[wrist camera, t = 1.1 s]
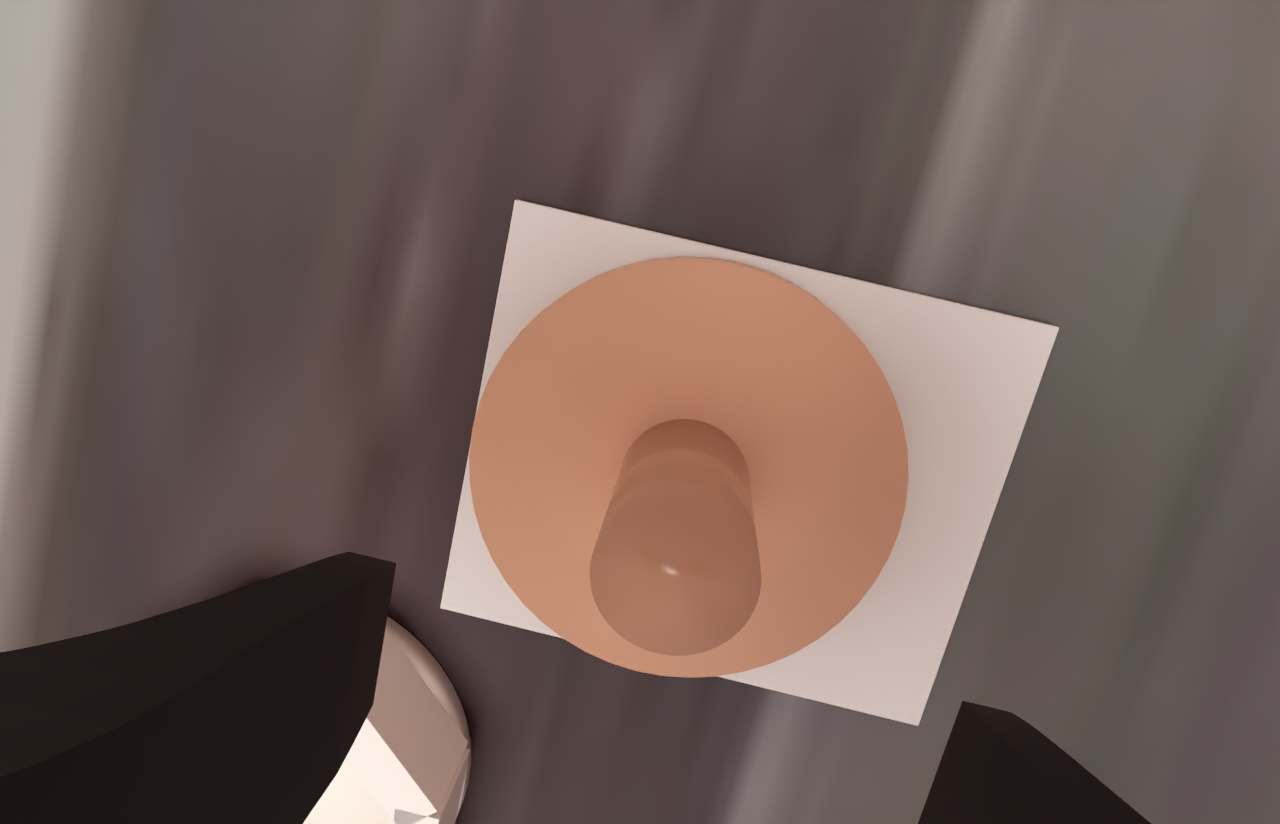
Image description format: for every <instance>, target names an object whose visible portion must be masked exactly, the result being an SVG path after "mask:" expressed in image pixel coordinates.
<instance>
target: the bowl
mask: <svg viewBox="0 0 1280 824" xmlns="http://www.w3.org/2000/svg"><path fill="white" fill-rule="evenodd" d="M470 770H471V741H470V735H469V729H468V723H467V720H466V717H465V714H464V711H463V707H462V704H461V702H460V700H459V698H458V696H457V693H456V691H455V689H454V687H453V685H452V683H451V682H450V680H449V678H448V677H447V675H446V674H445V672H444V670H443V669H442V667H441V666H440V665H439V663H438V662H437V661H436V660H435V658H434V657H433V656H432V655H431V654H430V652H429V651H428V650H427V649H426V648H425V647H424V646H423V645H422V644H421V643H420V642H419V641H418V640H417V639H416V638H415V637H414V636H413V635H412V634H411V633H410V632H408V631H407V630H406V629H404V628H403V627H402V626H400V625H399V624H398V623H397V622H395V621H394V620H393V619H391V618H390V617H388V616H387V622H386V629H385V635H384V641H383V647H382V653H381V659H380V666H379V672H378V678H377V684H376V690H375V696H374V702H373V706H372V708H371V710H370V712H369V714H368V716H367V718H366V720H365V722H364V724H363V726H362V728H361V729H360V731H359V733H358V735H357V737H356V739H355V741H354V743H353V745H352V747H351V749H350V751H349V753H348V754H347V756H346V758H345V760H344V762H343V764H342V766H341V767H340V769H339V771H338V773H337V775H336V776H335V777H334V779H333V780H332V782H331V783H330V785H329V786H328V788H327V789H326V791H325V792H324V794H323V795H322V797H321V798H320V799H319V801H318V802H317V804H316V805H315V807H314V808H313V810H312V811H311V812H310V814H309V815H308V817H307V818H306V820H305V821H304V823H303V824H455V821H456V818H457V815H458V813H459V811H460V808H461V806H462V803H463V801H464V798H465V794H466V791H467V787H468V784H469V778H470Z"/></svg>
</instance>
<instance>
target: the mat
mask: <svg viewBox="0 0 1280 824" xmlns="http://www.w3.org/2000/svg"><path fill="white" fill-rule="evenodd" d="M675 256H696V257H712V258H718V259H724V260H731V261H737V262H740V263H744V264H747V265H750V266H753V267H757V268H760V269H763V270H766V271H768V272H770V273H773V274H775V275H777V276H779V277H781V278H783V279H786V280H788V281H790V282H792V283H794V284H795V285H797V286H798V287H800V288H801V289H803V290H805V291H806V292H808V293H809V294H811V295H812V296H814V297H816V298H817V299H818V300H819V301H820V302H822V303H823V304H824V305H825V306H826V307H828V308H829V309H830V310H831V311H832V312H833V313H835V314H836V315H837V316H838V317H839V318H840V319H841V320H842V321H844V322H845V324H846V325H847V326H848V327H849V328H850V329H851V330H852V331H853V332H854V334H855V335H856V336H857V337H858V338H859V339H860V340H861V341H862V342H863V344H864V345H865V346H866V348H867V349H868V351H869V352H870V354H871V355H872V356H873V358H874V359H875V361H876V362H877V364H878V365H879V367H880V368H881V370H882V372H883V374H884V376H885V378H886V380H887V382H888V384H889V386H890V388H891V390H892V393H893V395H894V397H895V400H896V403H897V407H898V410H899V413H900V416H901V419H902V422H903V427H904V433H905V438H906V444H907V450H908V477H909V479H908V488H907V497H906V506H905V510H904V514H903V518H902V522H901V526H900V530H899V534H898V536H897V539H896V541H895V544H894V546H893V549H892V551H891V554H890V556H889V558H888V560H887V562H886V564H885V565H884V567H883V569H882V571H881V572H880V574H879V576H878V578H877V579H876V581H875V583H874V584H873V585H872V587H871V588H870V589H869V591H868V592H867V593H866V594H865V596H864V597H863V598H862V600H861V601H860V602H859V604H858V605H857V606H856V607H855V608H854V609H853V610H852V611H851V612H850V613H849V614H848V615H847V616H846V617H845V618H844V619H843V620H842V621H841V622H840V623H839V624H837V625H836V626H835V627H833V628H832V629H831V630H829V631H828V632H827V633H826V634H824V635H823V636H822V637H820V638H819V639H818V640H816V641H814V642H813V643H811V644H809V645H808V646H806V647H804V648H803V649H801V650H799V651H797V652H796V653H794V654H792V655H789V656H787V657H785V658H782V659H780V660H778V661H776V662H773V663H771V664H768V665H765V666H761V667H758V668H755V669H751V670H748V671H745V672H739V673H734V674H728V675H722V676H718V677H722V678H726V679H730V680H734V681H738V682H742V683H746V684H750V685H754V686H758V687H762V688H766V689H770V690H774V691H778V692H782V693H787V694H791V695H795V696H799V697H803V698H807V699H811V700H815V701H819V702H823V703H827V704H831V705H835V706H839V707H843V708H847V709H851V710H855V711H859V712H864V713H868V714H872V715H876V716H880V717H884V718H888V719H892V720H896V721H900V722H904V723H908V724H912V725H916V726H918V725H919V722H920V719H921V716H922V714H923V711H924V708H925V705H926V702H927V700H928V697H929V694H930V691H931V688H932V685H933V683H934V680H935V677H936V674H937V671H938V669H939V666H940V663H941V660H942V657H943V654H944V652H945V649H946V646H947V643H948V640H949V637H950V635H951V632H952V629H953V626H954V623H955V621H956V618H957V615H958V612H959V609H960V606H961V604H962V601H963V598H964V595H965V592H966V589H967V587H968V584H969V581H970V578H971V575H972V573H973V570H974V567H975V564H976V561H977V558H978V556H979V553H980V550H981V547H982V544H983V541H984V539H985V536H986V533H987V530H988V527H989V525H990V522H991V519H992V516H993V513H994V510H995V508H996V505H997V502H998V499H999V496H1000V493H1001V491H1002V488H1003V485H1004V482H1005V479H1006V477H1007V474H1008V471H1009V468H1010V465H1011V462H1012V460H1013V457H1014V454H1015V451H1016V448H1017V445H1018V443H1019V440H1020V437H1021V434H1022V431H1023V429H1024V426H1025V423H1026V420H1027V417H1028V414H1029V412H1030V409H1031V406H1032V403H1033V400H1034V397H1035V395H1036V392H1037V389H1038V386H1039V383H1040V381H1041V378H1042V375H1043V372H1044V369H1045V366H1046V364H1047V361H1048V358H1049V355H1050V352H1051V349H1052V347H1053V344H1054V341H1055V338H1056V335H1057V333H1058V330H1059V327H1056V326H1054V325H1050V324H1046V323H1042V322H1037V321H1033V320H1029V319H1025V318H1020V317H1016V316H1012V315H1008V314H1003V313H999V312H995V311H991V310H986V309H982V308H978V307H974V306H969V305H965V304H961V303H957V302H952V301H948V300H944V299H940V298H935V297H931V296H927V295H923V294H918V293H914V292H910V291H906V290H901V289H897V288H893V287H889V286H884V285H880V284H876V283H871V282H867V281H863V280H859V279H854V278H850V277H846V276H842V275H837V274H833V273H829V272H825V271H820V270H816V269H812V268H808V267H803V266H799V265H795V264H791V263H786V262H782V261H778V260H774V259H769V258H765V257H761V256H757V255H752V254H748V253H744V252H740V251H735V250H731V249H727V248H723V247H718V246H714V245H710V244H706V243H701V242H697V241H693V240H689V239H684V238H680V237H676V236H672V235H667V234H663V233H659V232H655V231H650V230H646V229H642V228H637V227H633V226H629V225H625V224H620V223H616V222H612V221H608V220H603V219H599V218H595V217H591V216H586V215H582V214H578V213H574V212H569V211H565V210H561V209H557V208H552V207H548V206H544V205H540V204H535V203H531V202H527V201H523V200H515V202H514V208H513V213H512V219H511V224H510V230H509V235H508V241H507V246H506V252H505V257H504V263H503V268H502V273H501V279H500V284H499V290H498V295H497V301H496V306H495V312H494V317H493V323H492V328H491V334H490V339H489V344H488V350H487V355H486V361H485V366H484V372H483V377H482V383H481V388H480V394H479V399H478V405H479V402H480V400H481V397H482V395H483V392H484V390H485V387H486V385H487V382H488V380H489V378H490V376H491V374H492V372H493V371H494V369H495V367H496V365H497V364H498V362H499V360H500V359H501V357H502V355H503V353H504V352H505V351H506V350H507V348H508V347H509V346H510V344H511V343H512V342H513V341H514V339H515V338H516V337H517V335H518V334H519V333H520V332H521V330H523V329H524V328H525V327H526V326H527V325H528V324H529V323H530V322H531V321H532V320H533V319H534V318H535V317H536V316H537V315H538V314H539V313H540V312H541V311H542V310H544V309H545V308H546V307H548V306H549V305H550V304H552V303H553V302H554V301H556V300H557V299H559V298H560V297H561V296H563V295H564V294H565V293H567V292H568V291H570V290H572V289H573V288H575V287H577V286H579V285H581V284H582V283H584V282H586V281H588V280H590V279H592V278H593V277H595V276H597V275H600V274H602V273H605V272H608V271H610V270H613V269H615V268H618V267H621V266H623V265H627V264H632V263H636V262H640V261H644V260H648V259H655V258H665V257H675ZM478 405H477V409H478ZM476 413H477V410H476ZM475 417H476V415H475ZM470 445H471V443H470ZM469 454H470V448H469ZM469 454H468V459H467V465H466V470H465V476H464V481H463V486H462V492H461V497H460V503H459V508H458V514H457V519H456V525H455V530H454V536H453V541H452V547H451V552H450V557H449V563H448V568H447V574H446V579H445V585H444V590H443V596H442V601H441V607H440V608H442V609H446V610H450V611H454V612H458V613H462V614H466V615H470V616H474V617H478V618H483V619H487V620H491V621H495V622H499V623H503V624H507V625H511V626H515V627H519V628H523V629H527V630H531V631H535V632H539V633H543V634H547V635H551V636H556V637H560V638H562V637H561V636H559V635H558V634H557V633H555V632H554V631H553V630H551V629H550V628H549V627H548V626H546V625H545V624H544V623H542V622H541V621H540V620H539V619H538V618H537V617H536V616H535V615H534V614H533V613H532V612H531V611H530V610H529V609H528V608H527V607H526V606H525V605H524V604H523V603H522V602H521V601H520V599H519V598H518V597H517V596H516V594H515V593H514V592H513V590H512V589H511V588H510V587H509V585H508V584H507V583H506V581H505V580H504V578H503V576H502V575H501V573H500V571H499V570H498V568H497V567H496V565H495V563H494V562H493V560H492V558H491V556H490V553H489V551H488V549H487V547H486V544H485V542H484V540H483V538H482V535H481V532H480V528H479V525H478V522H477V518H476V515H475V512H474V507H473V500H472V494H471V488H470V469H469Z"/></svg>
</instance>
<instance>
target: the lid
mask: <svg viewBox="0 0 1280 824" xmlns="http://www.w3.org/2000/svg"><path fill="white" fill-rule="evenodd" d="M469 469H470V488H471V494H472V500H473V507H474V512H475V515H476V518H477V522H478V525H479V528H480V532H481V535H482V538H483V540H484V542H485V544H486V547H487V549H488V551H489V553H490V556H491V558H492V560H493V562H494V563H495V565H496V567H497V568H498V570H499V571H500V573H501V575H502V576H503V578H504V580H505V581H506V583H507V584H508V585H509V587H510V588H511V589H512V590H513V592H514V593H515V594H516V596H517V597H518V598H519V599H520V601H521V602H522V603H523V604H524V605H525V606H526V607H527V608H528V609H529V610H530V611H531V612H532V613H533V614H534V615H535V616H536V617H537V618H538V619H539V620H540V621H541V622H542V623H544V624H545V625H546V626H548V627H549V628H550V629H551V630H553V631H554V632H555V633H557V634H558V635H559V636H561V637H562V638H563V639H565V640H567V641H568V642H570V643H572V644H573V645H575V646H577V647H578V648H580V649H582V650H583V651H585V652H587V653H589V654H591V655H594V656H596V657H598V658H600V659H603V660H605V661H607V662H609V663H612V664H615V665H619V666H622V667H625V668H628V669H632V670H635V671H639V672H645V673H650V674H655V675H661V676H672V677H687V678H694V677H714V676H722V675H728V674H734V673H739V672H745V671H748V670H751V669H755V668H758V667H761V666H765V665H768V664H771V663H773V662H776V661H778V660H780V659H782V658H785V657H787V656H789V655H792V654H794V653H796V652H797V651H799V650H801V649H803V648H804V647H806V646H808V645H809V644H811V643H813V642H814V641H816V640H818V639H819V638H820V637H822V636H823V635H824V634H826V633H827V632H828V631H829V630H831V629H832V628H833V627H835V626H836V625H837V624H839V623H840V622H841V621H842V620H843V619H844V618H845V617H846V616H847V615H848V614H849V613H850V612H851V611H852V610H853V609H854V608H855V607H856V606H857V605H858V604H859V602H860V601H861V600H862V598H863V597H864V596H865V594H866V593H867V592H868V591H869V589H870V588H871V587H872V585H873V584H874V583H875V581H876V579H877V578H878V576H879V574H880V572H881V571H882V569H883V567H884V565H885V564H886V562H887V560H888V558H889V556H890V554H891V551H892V549H893V546H894V544H895V541H896V539H897V536H898V534H899V530H900V526H901V522H902V518H903V514H904V510H905V506H906V497H907V488H908V479H909V477H908V450H907V444H906V438H905V433H904V427H903V422H902V419H901V416H900V413H899V410H898V407H897V403H896V400H895V397H894V395H893V393H892V390H891V388H890V386H889V384H888V382H887V380H886V378H885V376H884V374H883V372H882V370H881V368H880V367H879V365H878V364H877V362H876V361H875V359H874V358H873V356H872V355H871V354H870V352H869V351H868V349H867V348H866V346H865V345H864V344H863V342H862V341H861V340H860V339H859V338H858V337H857V336H856V335H855V334H854V332H853V331H852V330H851V329H850V328H849V327H848V326H847V325H846V324H845V322H844V321H842V320H841V319H840V318H839V317H838V316H837V315H836V314H835V313H833V312H832V311H831V310H830V309H829V308H828V307H826V306H825V305H824V304H823V303H822V302H820V301H819V300H818V299H817V298H816V297H814V296H812V295H811V294H809V293H808V292H806V291H805V290H803V289H801V288H800V287H798V286H797V285H795V284H794V283H792V282H790V281H788V280H786V279H783V278H781V277H779V276H777V275H775V274H773V273H770V272H768V271H766V270H763V269H760V268H757V267H753V266H750V265H747V264H744V263H740V262H737V261H731V260H724V259H718V258H712V257H696V256H675V257H665V258H655V259H648V260H644V261H640V262H636V263H632V264H627V265H623V266H621V267H618V268H615V269H613V270H610V271H608V272H605V273H602V274H600V275H597V276H595V277H593V278H592V279H590V280H588V281H586V282H584V283H582V284H581V285H579V286H577V287H575V288H573V289H572V290H570V291H568V292H567V293H565V294H564V295H563V296H561V297H560V298H559V299H557V300H556V301H554V302H553V303H552V304H550V305H549V306H548V307H546V308H545V309H544V310H542V311H541V312H540V313H539V314H538V315H537V316H536V317H535V318H534V319H533V320H532V321H531V322H530V323H529V324H528V325H527V326H526V327H525V328H524V329H523V330H521V332H520V333H519V334H518V335H517V337H516V338H515V339H514V341H513V342H512V343H511V344H510V346H509V347H508V348H507V350H506V351H505V352H504V353H503V355H502V357H501V359H500V360H499V362H498V364H497V365H496V367H495V369H494V371H493V372H492V374H491V376H490V378H489V380H488V382H487V385H486V387H485V390H484V392H483V395H482V397H481V400H480V402H479V405H478V409H477V413H476V417H475V421H474V425H473V429H472V436H471V445H470V454H469Z"/></svg>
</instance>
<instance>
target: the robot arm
mask: <svg viewBox="0 0 1280 824" xmlns="http://www.w3.org/2000/svg"><path fill="white" fill-rule="evenodd" d="M395 567H396V563H393V562H389V561H385V560H381V559H377V558H373V557H369V556H364V555H360V554H356V553H352V552H347V553H342V554H338V555H335V556H331V557H328V558H325V559H322V560H319V561H316V562H313V563H311V564H308V565H305V566H302V567H299V568H297V569H294V570H291V571H288V572H286V573H283V574H280V575H277V576H275V577H272V578H269V579H266V580H263V581H260V582H258V583H255V584H252V585H249V586H246V587H244V588H241V589H238V590H235V591H232V592H230V593H227V594H224V595H221V596H218V597H215V598H212V599H208V600H205V601H202V602H199V603H196V604H192V605H189V606H186V607H183V608H179V609H176V610H173V611H170V612H167V613H163V614H160V615H157V616H154V617H150V618H147V619H144V620H141V621H138V622H134V623H130V624H127V625H123V626H119V627H115V628H112V629H108V630H104V631H100V632H96V633H92V634H88V635H83V636H79V637H74V638H70V639H65V640H61V641H56V642H52V643H47V644H43V645H38V646H33V647H28V648H23V649H18V650H13V651H7V652H1V653H0V824H303V823H304V821H305V820H306V818H307V817H308V815H309V814H310V812H311V811H312V810H313V808H314V807H315V805H316V804H317V802H318V801H319V799H320V798H321V797H322V795H323V794H324V792H325V791H326V789H327V788H328V786H329V785H330V783H331V782H332V780H333V779H334V777H335V776H336V775H337V773H338V771H339V769H340V767H341V766H342V764H343V762H344V760H345V758H346V756H347V754H348V753H349V751H350V749H351V747H352V745H353V743H354V741H355V739H356V737H357V735H358V733H359V731H360V729H361V728H362V726H363V724H364V722H365V720H366V718H367V716H368V714H369V712H370V710H371V708H372V706H373V702H374V696H375V690H376V684H377V678H378V672H379V666H380V659H381V653H382V647H383V641H384V635H385V629H386V622H387V616H388V610H389V604H390V598H391V592H392V586H393V579H394V573H395ZM918 824H1151V823H1150V822H1148V821H1147V820H1146V819H1145V818H1144V817H1142V816H1141V815H1140V814H1139V813H1138V812H1136V811H1135V810H1134V809H1133V808H1132V807H1130V806H1129V805H1128V804H1127V803H1126V802H1124V801H1123V800H1122V799H1121V798H1120V797H1118V796H1117V795H1116V794H1115V793H1114V792H1112V791H1111V790H1110V789H1109V788H1108V787H1106V786H1105V785H1104V784H1103V783H1102V782H1100V781H1099V780H1098V779H1097V778H1096V777H1094V776H1093V775H1092V774H1091V773H1090V772H1088V771H1087V770H1086V769H1085V768H1084V767H1082V766H1081V765H1080V764H1079V763H1078V762H1076V761H1075V760H1074V759H1073V758H1072V757H1070V756H1069V755H1068V754H1067V753H1066V752H1064V751H1063V750H1062V749H1061V748H1059V747H1058V746H1057V745H1056V744H1054V743H1053V742H1052V741H1051V740H1049V739H1048V738H1047V737H1046V736H1044V735H1043V734H1042V733H1040V732H1039V731H1038V730H1036V729H1035V728H1034V727H1032V726H1031V725H1030V724H1028V723H1027V722H1025V721H1024V720H1022V719H1021V718H1019V717H1018V716H1016V715H1015V714H1013V713H1011V712H1007V711H1003V710H999V709H995V708H990V707H986V706H982V705H978V704H974V703H970V702H966V701H962V704H961V707H960V709H959V712H958V715H957V718H956V720H955V723H954V726H953V729H952V731H951V734H950V737H949V740H948V742H947V745H946V748H945V751H944V753H943V756H942V759H941V762H940V765H939V767H938V770H937V773H936V776H935V778H934V781H933V784H932V787H931V789H930V792H929V795H928V798H927V800H926V803H925V806H924V809H923V811H922V814H921V817H920V820H919V822H918Z"/></svg>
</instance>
